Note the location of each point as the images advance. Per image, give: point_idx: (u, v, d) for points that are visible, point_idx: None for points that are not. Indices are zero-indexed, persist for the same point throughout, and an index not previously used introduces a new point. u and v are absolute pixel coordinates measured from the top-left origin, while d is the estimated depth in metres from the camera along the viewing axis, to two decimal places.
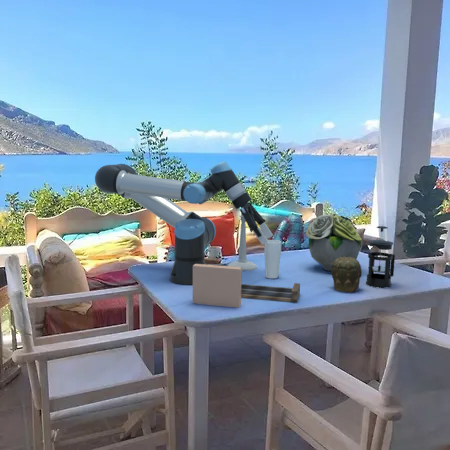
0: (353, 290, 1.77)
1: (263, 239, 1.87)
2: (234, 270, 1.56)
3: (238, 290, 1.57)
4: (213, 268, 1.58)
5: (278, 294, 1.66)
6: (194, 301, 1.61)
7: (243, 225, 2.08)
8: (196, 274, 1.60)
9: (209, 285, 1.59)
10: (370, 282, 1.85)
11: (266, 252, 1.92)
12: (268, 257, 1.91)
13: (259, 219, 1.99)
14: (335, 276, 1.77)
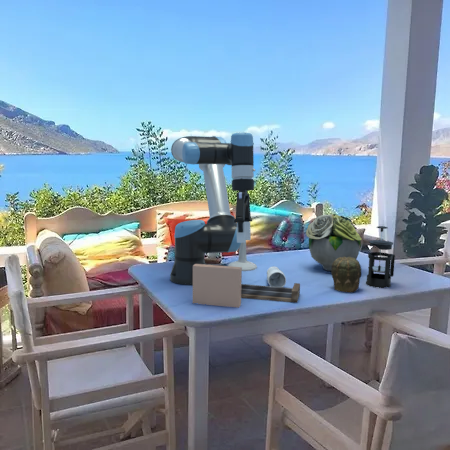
0: (353, 290, 1.77)
1: (241, 237, 1.56)
2: (234, 270, 1.56)
3: (238, 290, 1.57)
4: (213, 268, 1.58)
5: (278, 294, 1.66)
6: (194, 301, 1.61)
7: None
8: (196, 274, 1.60)
9: (209, 285, 1.59)
10: (370, 282, 1.85)
11: (268, 282, 1.82)
12: None
13: (247, 215, 1.69)
14: (335, 276, 1.77)
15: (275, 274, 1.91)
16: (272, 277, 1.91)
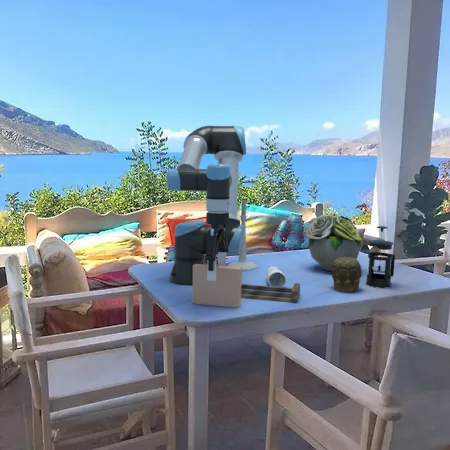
0: (353, 290, 1.77)
1: (212, 275, 1.52)
2: (234, 270, 1.56)
3: (238, 290, 1.57)
4: None
5: (278, 294, 1.66)
6: (194, 301, 1.61)
7: (243, 225, 2.08)
8: (196, 274, 1.60)
9: (209, 285, 1.59)
10: (370, 282, 1.85)
11: (268, 282, 1.82)
12: None
13: (223, 246, 1.63)
14: (335, 276, 1.77)
15: (275, 274, 1.91)
16: (272, 277, 1.91)
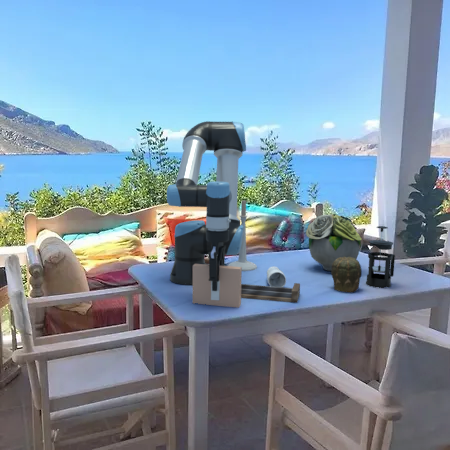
0: (353, 290, 1.77)
1: (215, 294, 1.58)
2: (234, 270, 1.56)
3: (238, 290, 1.57)
4: None
5: (278, 294, 1.66)
6: (194, 301, 1.61)
7: (243, 225, 2.08)
8: (196, 274, 1.60)
9: (209, 285, 1.59)
10: (370, 282, 1.85)
11: (268, 282, 1.82)
12: None
13: None
14: (335, 276, 1.77)
15: (275, 274, 1.91)
16: (272, 277, 1.91)
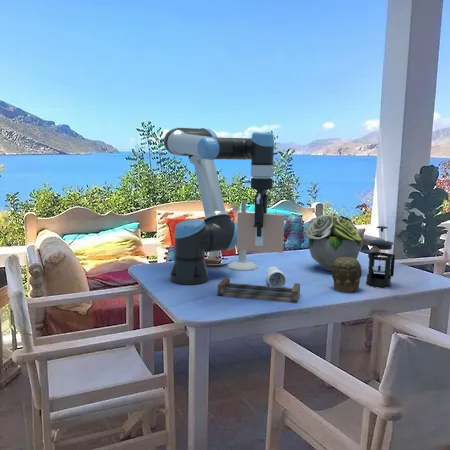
0: (353, 290, 1.77)
1: (259, 240, 1.66)
2: (278, 216, 1.64)
3: (281, 235, 1.65)
4: None
5: (278, 294, 1.66)
6: (238, 247, 1.69)
7: None
8: (241, 221, 1.68)
9: (253, 232, 1.67)
10: (370, 282, 1.85)
11: (268, 282, 1.82)
12: None
13: None
14: (335, 276, 1.77)
15: (275, 274, 1.91)
16: (272, 277, 1.91)
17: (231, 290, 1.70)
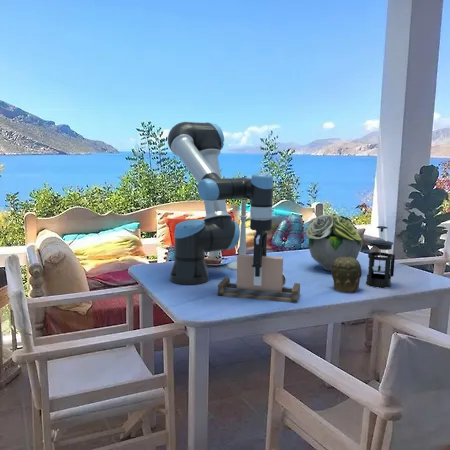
0: (353, 290, 1.77)
1: (258, 280, 1.67)
2: (277, 260, 1.67)
3: (280, 279, 1.68)
4: None
5: (278, 294, 1.66)
6: None
7: (243, 225, 2.08)
8: (240, 264, 1.70)
9: (252, 274, 1.70)
10: (370, 282, 1.85)
11: None
12: None
13: (263, 254, 1.73)
14: (335, 276, 1.77)
15: None
16: None
17: (231, 290, 1.70)
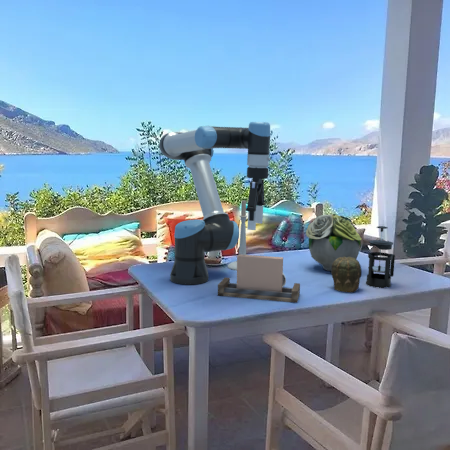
0: (353, 290, 1.77)
1: (252, 224, 1.65)
2: (277, 260, 1.67)
3: (280, 279, 1.68)
4: (257, 258, 1.68)
5: (278, 294, 1.66)
6: None
7: (243, 225, 2.08)
8: (240, 264, 1.70)
9: (252, 274, 1.70)
10: (370, 282, 1.85)
11: None
12: None
13: (260, 200, 1.76)
14: (335, 276, 1.77)
15: None
16: None
17: (231, 290, 1.70)
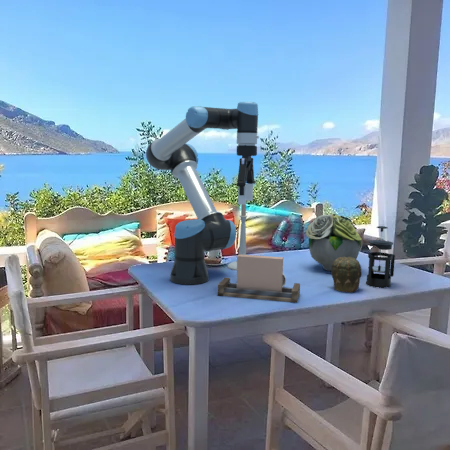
0: (353, 290, 1.77)
1: (242, 199, 1.73)
2: (277, 260, 1.67)
3: (280, 279, 1.68)
4: (257, 258, 1.68)
5: (278, 294, 1.66)
6: None
7: (243, 225, 2.08)
8: (240, 264, 1.70)
9: (252, 274, 1.70)
10: (370, 282, 1.85)
11: None
12: None
13: (250, 178, 1.84)
14: (335, 276, 1.77)
15: None
16: None
17: (231, 290, 1.70)
